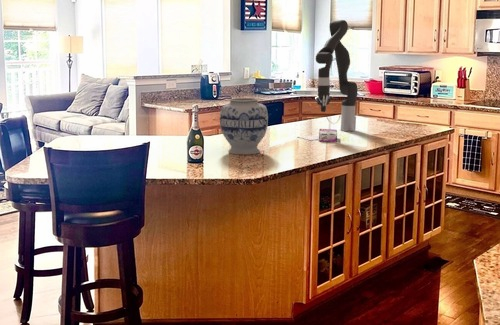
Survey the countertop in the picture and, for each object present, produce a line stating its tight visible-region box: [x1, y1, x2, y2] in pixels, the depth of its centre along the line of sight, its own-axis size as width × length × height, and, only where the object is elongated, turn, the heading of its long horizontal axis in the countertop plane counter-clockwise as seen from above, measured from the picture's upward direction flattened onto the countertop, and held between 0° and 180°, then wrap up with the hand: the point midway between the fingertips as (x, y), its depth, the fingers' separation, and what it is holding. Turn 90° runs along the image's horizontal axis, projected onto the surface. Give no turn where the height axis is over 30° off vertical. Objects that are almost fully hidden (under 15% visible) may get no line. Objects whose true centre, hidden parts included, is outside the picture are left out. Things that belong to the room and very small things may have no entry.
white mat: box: [297, 134, 319, 141], centre depth 403 cm, size 16×14×1 cm
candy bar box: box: [318, 128, 338, 143], centre depth 396 cm, size 11×5×16 cm
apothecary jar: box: [219, 97, 269, 156], centre depth 352 cm, size 27×27×30 cm
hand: (323, 111), depth 401 cm, fingers closed
